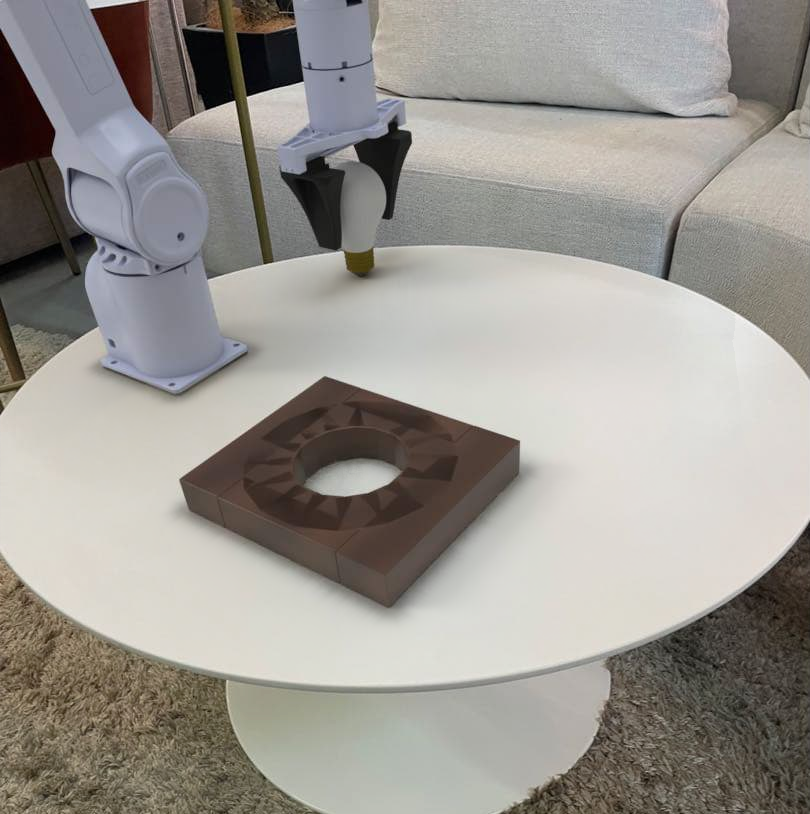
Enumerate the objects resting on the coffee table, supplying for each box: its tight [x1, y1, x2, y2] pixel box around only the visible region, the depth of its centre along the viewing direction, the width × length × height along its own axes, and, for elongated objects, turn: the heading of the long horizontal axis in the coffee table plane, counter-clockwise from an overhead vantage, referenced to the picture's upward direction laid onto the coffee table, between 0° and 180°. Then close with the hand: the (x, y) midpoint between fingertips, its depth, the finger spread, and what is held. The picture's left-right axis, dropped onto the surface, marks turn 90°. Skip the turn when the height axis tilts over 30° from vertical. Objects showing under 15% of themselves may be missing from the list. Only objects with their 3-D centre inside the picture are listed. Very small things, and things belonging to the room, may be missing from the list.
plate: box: [178, 375, 521, 608], centre depth 51 cm, size 16×14×2 cm
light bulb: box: [332, 160, 386, 277], centre depth 73 cm, size 6×6×10 cm
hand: (356, 231), depth 73 cm, fingers open, 7 cm apart
